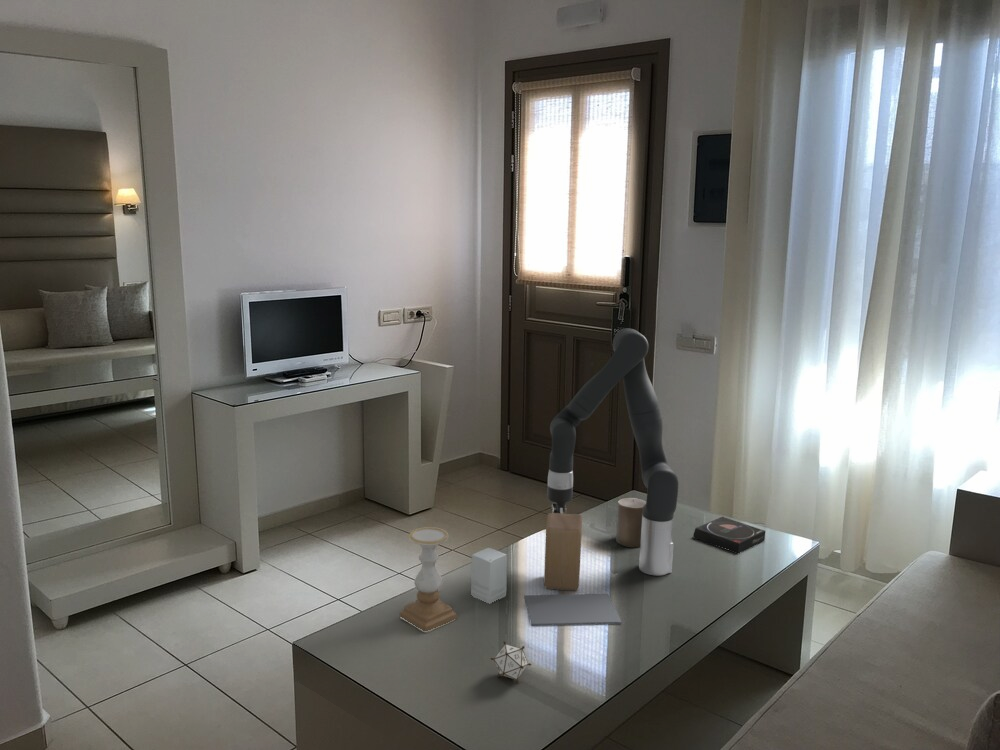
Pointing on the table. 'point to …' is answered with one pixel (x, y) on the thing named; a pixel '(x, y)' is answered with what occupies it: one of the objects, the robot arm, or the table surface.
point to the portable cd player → (730, 534)
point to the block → (563, 551)
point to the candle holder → (428, 583)
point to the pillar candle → (629, 522)
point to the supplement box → (489, 575)
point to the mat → (571, 609)
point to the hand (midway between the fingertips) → (557, 538)
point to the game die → (510, 661)
